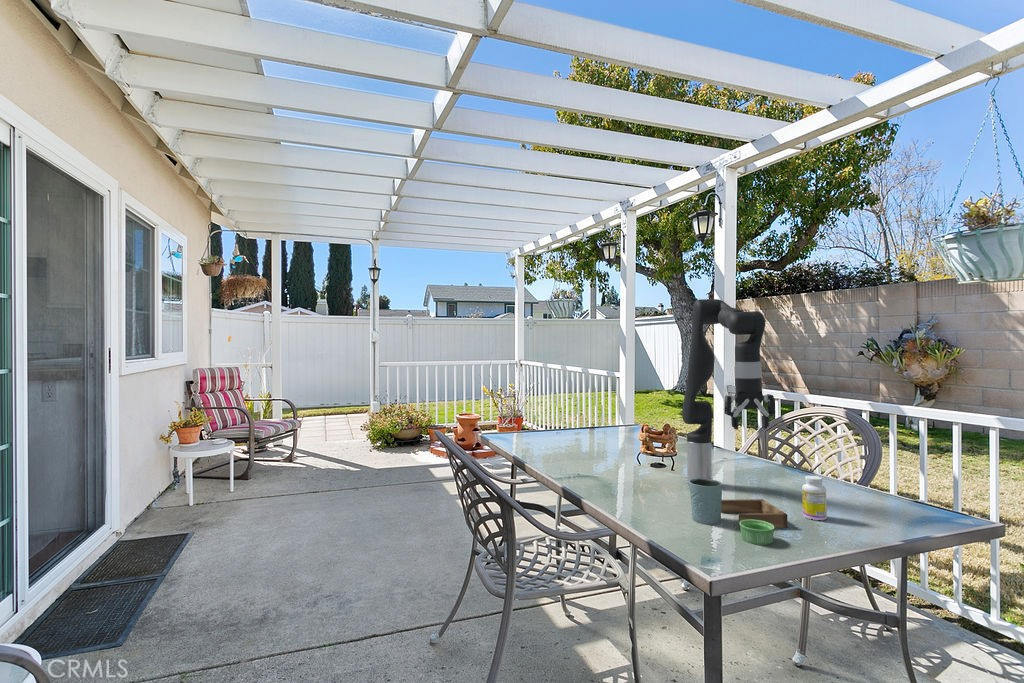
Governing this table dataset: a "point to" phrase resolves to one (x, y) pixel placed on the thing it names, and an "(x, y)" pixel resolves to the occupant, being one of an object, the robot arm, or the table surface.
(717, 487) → the blue-grey plant pot
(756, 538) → the ramekin
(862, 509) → the table surface
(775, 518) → the brown piece
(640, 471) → the table surface
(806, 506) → the supplement bottle
